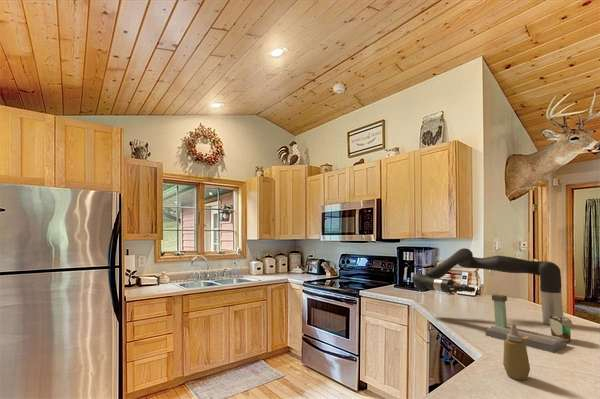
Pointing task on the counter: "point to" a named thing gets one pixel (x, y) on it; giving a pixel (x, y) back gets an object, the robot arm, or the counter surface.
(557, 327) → the food container
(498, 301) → the fader tab
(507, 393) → the counter surface
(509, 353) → the squeeze bottle
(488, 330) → the slider console
